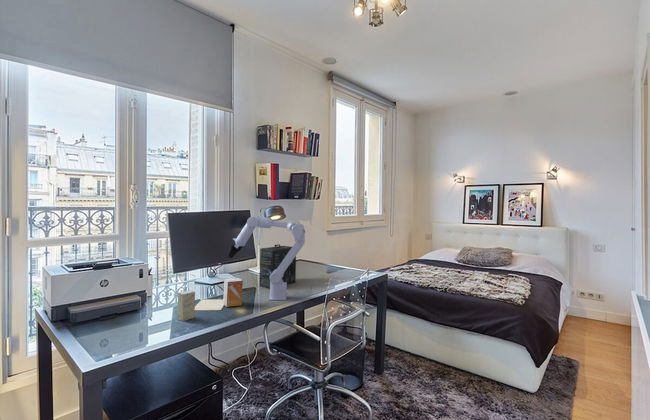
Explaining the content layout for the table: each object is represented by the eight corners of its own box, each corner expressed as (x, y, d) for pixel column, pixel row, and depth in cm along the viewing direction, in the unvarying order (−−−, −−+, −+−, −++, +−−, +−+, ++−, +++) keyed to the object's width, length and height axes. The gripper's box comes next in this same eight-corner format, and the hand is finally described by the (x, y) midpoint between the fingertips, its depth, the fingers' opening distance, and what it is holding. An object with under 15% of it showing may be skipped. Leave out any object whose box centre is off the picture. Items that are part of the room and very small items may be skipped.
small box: (226, 307, 166) (227, 281, 166) (222, 303, 172) (223, 278, 171) (242, 305, 171) (243, 280, 171) (238, 301, 176) (239, 277, 176)
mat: (228, 299, 179) (228, 299, 179) (220, 310, 163) (220, 309, 163) (201, 300, 178) (201, 299, 178) (191, 310, 161) (191, 310, 161)
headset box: (283, 279, 226) (283, 242, 226) (296, 282, 219) (296, 243, 219) (258, 286, 208) (259, 245, 207) (272, 289, 201) (272, 247, 200)
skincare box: (183, 321, 147) (183, 294, 147) (177, 319, 150) (177, 292, 149) (195, 317, 153) (195, 291, 152) (189, 315, 155) (189, 289, 155)
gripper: (240, 229, 190) (228, 249, 191) (235, 233, 176) (222, 254, 176) (251, 236, 191) (238, 255, 192) (247, 240, 177) (233, 261, 177)
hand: (231, 255), depth 184 cm, fingers open, 7 cm apart
